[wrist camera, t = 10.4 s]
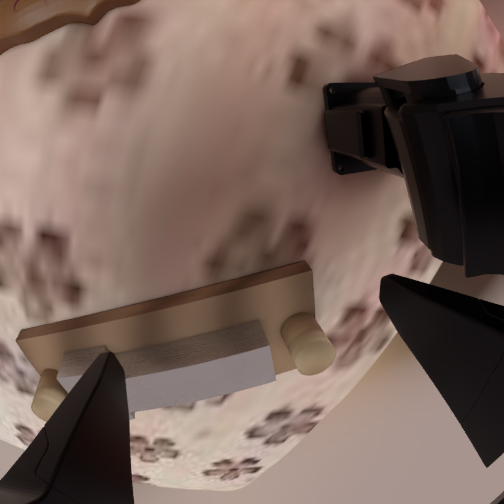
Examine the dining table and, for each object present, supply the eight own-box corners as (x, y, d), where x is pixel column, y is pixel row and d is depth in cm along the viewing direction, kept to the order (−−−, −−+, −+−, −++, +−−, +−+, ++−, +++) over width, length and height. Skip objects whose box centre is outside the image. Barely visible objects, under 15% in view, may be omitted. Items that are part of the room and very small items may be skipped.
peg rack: (304, 260, 23) (337, 299, 18) (310, 351, 27) (334, 392, 22) (21, 330, 19) (-1, 373, 15) (73, 402, 24) (66, 444, 19)
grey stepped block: (256, 308, 22) (267, 334, 19) (267, 362, 24) (277, 387, 22) (64, 352, 20) (56, 378, 17) (97, 397, 22) (94, 423, 20)
